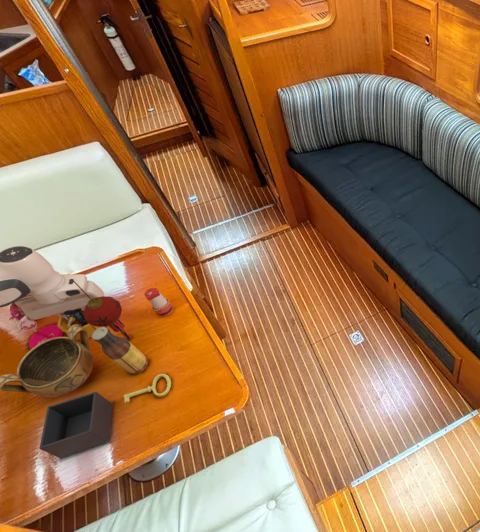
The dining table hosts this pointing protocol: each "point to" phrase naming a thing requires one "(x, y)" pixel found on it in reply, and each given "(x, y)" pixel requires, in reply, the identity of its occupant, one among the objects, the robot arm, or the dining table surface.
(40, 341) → the figurine
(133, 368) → the sauce bottle
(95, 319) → the lantern
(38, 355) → the ceramic bowl
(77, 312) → the character figure
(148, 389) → the key
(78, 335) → the toy bowl
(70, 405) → the bin
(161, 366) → the dining table surface
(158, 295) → the toy
